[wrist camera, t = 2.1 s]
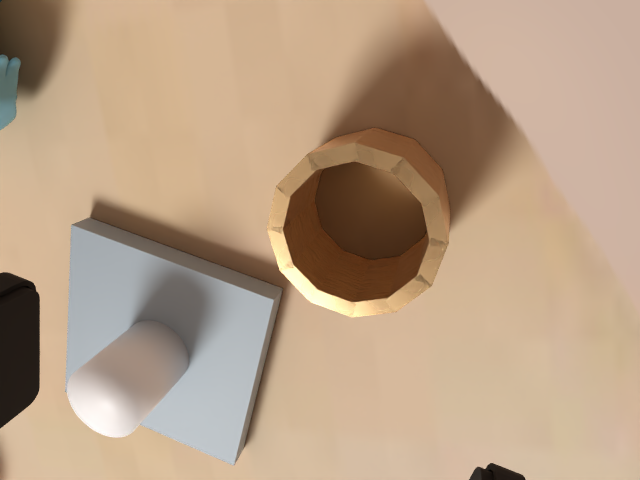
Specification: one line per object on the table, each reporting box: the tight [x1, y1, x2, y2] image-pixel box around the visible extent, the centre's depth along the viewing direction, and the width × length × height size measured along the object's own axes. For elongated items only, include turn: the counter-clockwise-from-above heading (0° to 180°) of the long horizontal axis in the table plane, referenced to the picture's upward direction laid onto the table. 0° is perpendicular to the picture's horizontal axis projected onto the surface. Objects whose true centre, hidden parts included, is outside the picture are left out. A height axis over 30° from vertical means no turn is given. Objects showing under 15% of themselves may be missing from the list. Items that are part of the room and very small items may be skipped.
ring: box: [267, 127, 450, 317], centre depth 22 cm, size 7×7×5 cm
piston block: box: [65, 218, 283, 465], centre depth 28 cm, size 13×13×6 cm
